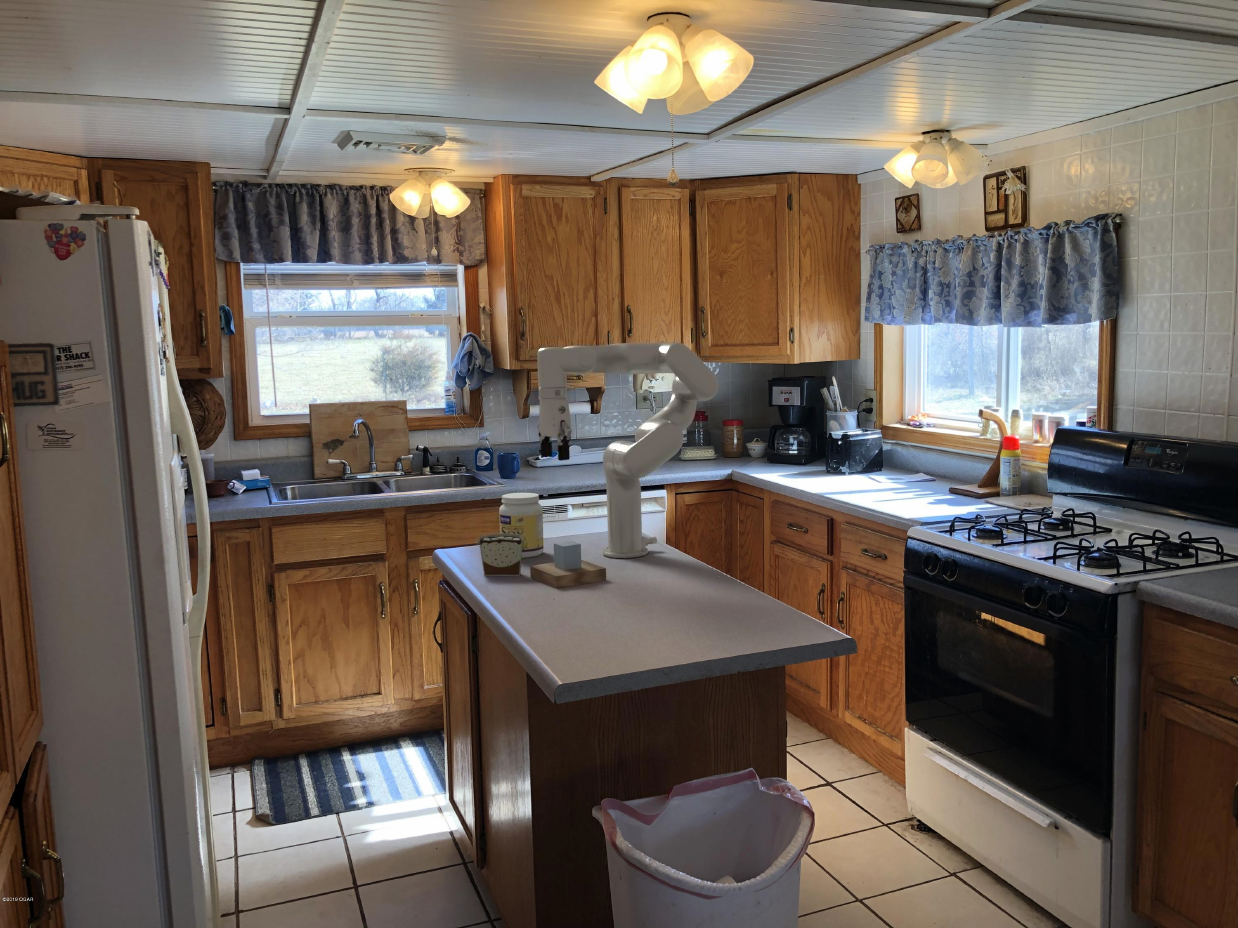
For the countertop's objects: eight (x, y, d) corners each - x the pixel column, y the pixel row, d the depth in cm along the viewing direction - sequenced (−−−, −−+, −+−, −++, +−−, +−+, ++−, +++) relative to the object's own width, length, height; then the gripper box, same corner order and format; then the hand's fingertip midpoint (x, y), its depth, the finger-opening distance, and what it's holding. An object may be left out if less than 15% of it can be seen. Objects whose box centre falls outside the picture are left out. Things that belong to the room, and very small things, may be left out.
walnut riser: (578, 569, 258) (578, 558, 258) (606, 579, 247) (606, 568, 246) (530, 577, 251) (530, 566, 251) (556, 588, 239) (556, 576, 239)
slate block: (571, 563, 252) (571, 540, 251) (581, 567, 248) (580, 543, 247) (554, 566, 249) (553, 543, 249) (563, 570, 245) (563, 546, 244)
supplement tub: (493, 558, 276) (491, 498, 274) (511, 549, 287) (508, 491, 285) (534, 559, 272) (532, 499, 270) (550, 550, 284) (548, 492, 282)
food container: (530, 570, 260) (528, 532, 258) (525, 575, 254) (524, 537, 252) (484, 570, 261) (482, 533, 260) (478, 575, 255) (476, 537, 254)
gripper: (581, 394, 257) (583, 460, 259) (550, 392, 272) (552, 454, 274) (555, 396, 253) (558, 462, 255) (525, 394, 268) (527, 457, 270)
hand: (555, 458), depth 264 cm, fingers open, 9 cm apart
